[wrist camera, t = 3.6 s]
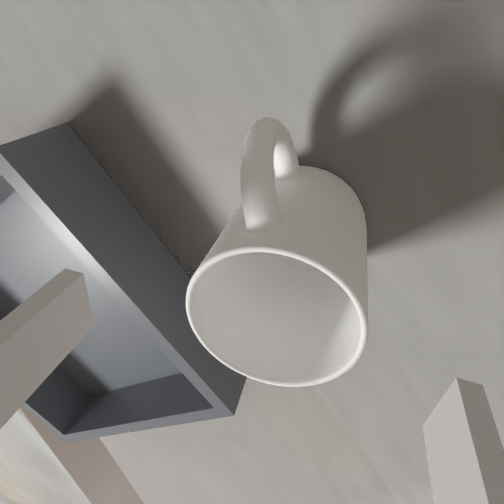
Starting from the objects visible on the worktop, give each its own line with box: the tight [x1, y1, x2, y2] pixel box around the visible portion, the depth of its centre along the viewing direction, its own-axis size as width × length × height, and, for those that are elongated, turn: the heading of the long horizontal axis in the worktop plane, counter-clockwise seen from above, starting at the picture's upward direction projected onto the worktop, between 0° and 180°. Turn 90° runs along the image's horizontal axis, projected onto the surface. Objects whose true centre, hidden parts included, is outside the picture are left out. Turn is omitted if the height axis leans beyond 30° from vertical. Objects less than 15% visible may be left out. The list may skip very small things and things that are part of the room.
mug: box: [186, 118, 368, 387], centre depth 19 cm, size 12×8×10 cm
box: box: [0, 123, 247, 442], centre depth 32 cm, size 24×24×6 cm
